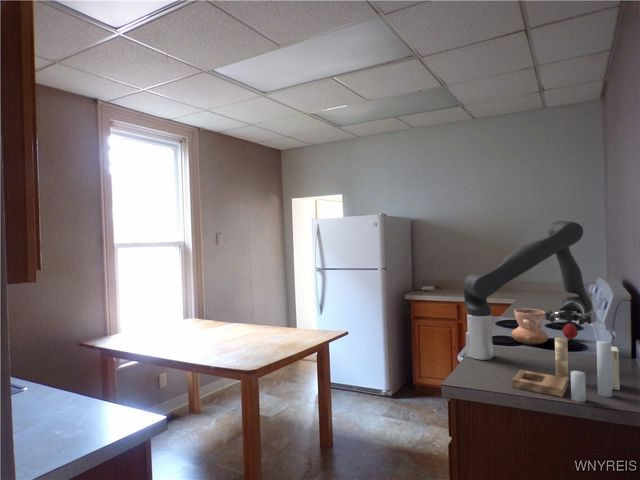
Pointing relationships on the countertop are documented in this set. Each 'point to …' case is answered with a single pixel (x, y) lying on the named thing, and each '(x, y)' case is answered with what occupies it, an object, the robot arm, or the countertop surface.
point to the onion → (570, 331)
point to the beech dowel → (561, 357)
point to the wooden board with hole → (540, 383)
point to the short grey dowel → (578, 386)
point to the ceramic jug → (529, 326)
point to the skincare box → (615, 368)
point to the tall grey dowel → (604, 368)
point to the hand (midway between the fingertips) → (565, 320)
